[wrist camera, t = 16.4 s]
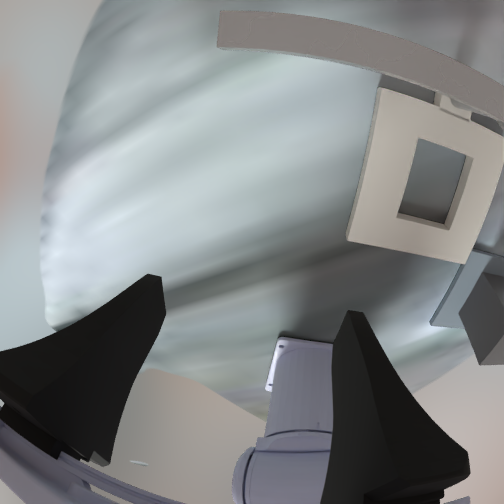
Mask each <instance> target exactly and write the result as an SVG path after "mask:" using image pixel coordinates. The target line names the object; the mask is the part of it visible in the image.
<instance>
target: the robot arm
mask: <svg viewBox="0 0 504 504" xmlns="http://www.w3.org/2000/svg"><path fill="white" fill-rule="evenodd" d="M165 316H166V309H165V301H164V294H163V286H162V278H161V277H160V276H156V275H151V274H147V275H145V276H144V277H142V278H141V279H139V280H138V281H137V282H135V283H134V284H132V285H131V286H130V287H128V288H127V289H126V290H124V291H123V292H121V293H120V294H119V295H117V296H116V297H114V298H113V299H112V300H110V301H109V302H107V303H106V304H104V305H103V306H101V307H100V308H98V309H97V310H95V311H94V312H92V313H91V314H89V315H88V316H86V317H84V318H83V319H81V320H79V321H77V322H76V323H74V324H72V325H70V326H68V327H66V328H64V329H62V330H60V331H58V332H56V333H54V334H52V335H49V336H47V337H45V338H42V339H40V340H37V341H35V342H32V343H29V344H26V345H23V346H20V347H17V348H12V349H8V350H4V351H0V399H1V400H2V401H3V402H4V405H3V407H1V406H0V479H1V480H2V481H3V482H4V483H5V484H6V485H7V486H8V487H9V488H10V489H11V490H12V491H13V492H14V493H15V494H16V495H17V496H18V497H19V498H20V499H21V500H23V501H24V502H25V503H26V504H119V503H117V502H115V501H113V500H110V499H108V498H106V497H104V496H102V495H99V494H97V493H95V492H93V491H92V490H91V488H90V485H89V483H90V484H92V485H94V486H96V487H98V488H100V489H102V490H104V491H106V492H108V493H111V494H112V495H115V496H117V497H120V498H122V499H124V500H127V501H129V502H132V503H134V504H185V503H181V502H178V501H174V500H171V499H168V498H165V497H161V496H159V495H156V494H153V493H150V492H147V491H144V490H142V489H139V488H137V487H134V486H132V485H129V484H126V483H124V482H122V481H119V480H117V479H115V478H112V477H110V476H108V475H106V474H104V473H102V472H100V471H98V470H95V469H94V468H92V467H90V466H88V465H86V464H84V463H82V462H80V459H82V460H85V461H86V462H89V461H92V462H94V463H96V464H98V465H100V466H107V465H109V464H110V462H111V456H112V451H113V446H114V442H115V438H116V434H117V430H118V426H119V423H120V419H121V416H122V413H123V410H124V407H125V404H126V401H127V398H128V396H129V393H130V390H131V387H132V385H133V383H134V380H135V378H136V376H137V374H138V372H139V370H140V369H141V367H142V365H143V363H144V361H145V359H146V357H147V355H148V353H149V352H150V350H151V348H152V346H153V344H154V342H155V340H156V338H157V336H158V334H159V332H160V329H161V327H162V324H163V321H164V318H165ZM265 389H266V390H267V391H272V392H271V398H270V405H269V411H268V417H267V423H266V429H265V435H264V437H258V438H257V442H256V447H250V448H248V449H247V450H246V451H245V452H244V453H243V454H242V455H241V456H240V458H239V459H238V461H237V463H236V466H235V469H234V474H233V479H232V495H233V499H234V502H235V504H440V499H442V498H443V497H444V489H446V488H448V487H451V486H453V485H455V484H457V483H459V482H461V481H462V480H465V479H466V478H467V477H468V476H469V475H470V465H469V458H468V452H467V451H466V450H465V449H464V448H462V447H461V446H460V445H459V444H458V443H456V442H455V441H454V440H453V439H452V438H450V437H449V436H448V435H447V434H446V433H445V432H444V431H443V430H442V429H441V428H440V427H439V426H438V425H437V424H436V423H435V422H434V421H433V420H432V419H431V417H430V416H429V415H428V414H427V413H426V412H425V411H424V409H423V408H422V407H421V406H420V405H419V403H418V402H417V401H416V400H415V398H414V397H413V396H412V394H411V393H410V391H409V390H408V389H407V387H406V386H405V385H404V383H403V382H402V380H401V379H400V377H399V376H398V374H397V372H396V371H395V369H394V368H393V366H392V364H391V363H390V361H389V359H388V357H387V356H386V354H385V352H384V350H383V349H382V347H381V345H380V343H379V341H378V339H377V338H376V336H375V334H374V332H373V330H372V328H371V326H370V324H369V323H368V321H367V319H366V317H365V315H364V314H363V312H357V311H350V310H348V311H347V313H346V316H345V318H344V320H343V323H342V325H341V327H340V330H339V332H338V334H337V336H336V339H335V341H334V343H333V344H329V343H321V342H314V341H307V340H300V339H294V338H287V337H279V338H278V339H277V343H276V347H275V351H274V355H273V359H272V363H271V367H270V370H269V374H268V378H267V382H266V385H265ZM87 482H88V483H87ZM444 504H470V497H469V496H467V497H464V498H461V499H458V500H454V501H451V502H448V503H444Z"/></svg>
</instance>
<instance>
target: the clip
mask: <svg viewBox="0 0 504 504" xmlns="http://www.w3.org/2000/svg"><path fill="white" fill-rule="evenodd" d="M217 48H220V49H222V50H237V51H255V52H267V53H278V54H286V55H294V56H301V57H308V58H314V59H320V60H326V61H331V62H336V63H341V64H345V65H350V66H354V67H358V68H362V69H366V70H370V71H374V72H378V73H381V74H385V75H388V76H391V77H395V78H398V79H401V80H404V81H407V82H410V83H413V84H416V85H419V86H421V87H424V88H427V89H429V90H432V91H435V92H437V93H440V94H442V95H444V96H447V97H449V98H452V99H454V100H456V101H458V102H461V103H463V104H465V105H467V106H469V107H471V108H473V109H475V110H478V111H480V112H482V113H483V114H485V115H487V116H489V117H491V118H493V119H495V120H497V122H498V124H499V126H500V127H501V128H502V129H503V130H504V86H502V85H501V84H499V83H497V82H496V81H494V80H492V79H491V78H489V77H487V76H485V75H484V74H482V73H480V72H478V71H476V70H474V69H472V68H470V67H468V66H466V65H464V64H462V63H460V62H458V61H456V60H454V59H452V58H450V57H447V56H445V55H443V54H441V53H438V52H436V51H434V50H431V49H429V48H426V47H424V46H421V45H418V44H416V43H413V42H410V41H407V40H404V39H402V38H399V37H395V36H392V35H389V34H386V33H382V32H379V31H375V30H372V29H368V28H364V27H360V26H356V25H352V24H348V23H343V22H338V21H333V20H328V19H322V18H316V17H309V16H302V15H294V14H285V13H274V12H259V11H220V20H219V29H218V39H217Z"/></svg>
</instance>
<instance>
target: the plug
mask: <svg viewBox="0 0 504 504" xmlns="http://www.w3.org/2000/svg"><path fill="white" fill-rule="evenodd" d="M458 314H459V316H460V319H461V321H462V323H463V325H464V328H465V330H466V332H467V335H468V337H469V340H470V342H471V345H472V347H473V350H474V352H475V355H476V358H477V360H478V363H479V365H502V364H504V277H503V276H498V275H494V274H489V273H485V272H482V273H481V275H480V277H479V278H478V280H477V282H476V284H475V286H474V287H473V289H472V291H471V293H470V294H469V296H468V298H467V300H466V301H465V303H464V305H463V306H462V308H461V309H460V311H459V313H458Z"/></svg>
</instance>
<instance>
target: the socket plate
mask: <svg viewBox="0 0 504 504" xmlns="http://www.w3.org/2000/svg"><path fill="white" fill-rule="evenodd" d="M472 112H474V113H478V114H481V115H484V116H487V115H485V114H483V113H482V112H480V111H478V110H475V109H473V108H471V107H469V106H467V105H465V104H463V103H461V102H458V101H456V100H454V99H452V98H449V97H447V96H444V95H442V94H440V93H437V92H435V98H434V104H430V103H428V102H425V101H422V100H420V99H417V98H414V97H411V96H408V95H405V94H402V93H399V92H395V91H392V90H389V89H385V88H381V87H378V89H377V95H376V101H375V107H374V113H373V118H372V123H371V129H370V134H369V139H368V143H367V148H366V153H365V158H364V162H363V166H362V171H361V175H360V179H359V184H358V188H357V192H356V196H355V200H354V204H353V207H352V211H351V215H350V219H349V222H348V226H347V230H346V233H345V234H346V238H347V241H351V242H357V243H362V244H367V245H372V246H378V247H383V248H388V249H393V250H398V251H403V252H408V253H413V254H418V255H423V256H427V257H432V258H437V259H442V260H446V261H451V262H456V263H460V264H465V263H466V261H467V259H468V257H469V255H470V253H471V250H472V248H473V246H474V244H475V242H476V239H477V237H478V235H479V232H480V230H481V228H482V225H483V223H484V220H485V218H486V215H487V212H488V210H489V207H490V204H491V202H492V199H493V196H494V193H495V190H496V187H497V184H498V181H499V177H500V174H501V171H502V167H503V164H504V137H502V136H501V135H499V134H497V133H495V132H493V131H491V130H489V129H487V128H485V127H483V126H481V125H479V124H477V123H475V122H473V121H471V120H470V119H471V114H472ZM487 117H489V116H487ZM418 138H421V139H424V140H427V141H430V142H433V143H436V144H438V145H441V146H444V147H447V148H449V149H452V150H455V151H457V152H460V153H462V154H465V155H466V159H465V162H464V166H463V169H462V173H461V176H460V180H459V183H458V186H457V189H456V192H455V195H454V198H453V201H452V204H451V207H450V210H449V212H448V215H447V218H446V220H445V223H444V224H441V223H437V222H433V221H429V220H426V219H422V218H418V217H414V216H410V215H405V214H401V213H398V210H399V207H400V204H401V201H402V197H403V194H404V191H405V187H406V184H407V180H408V177H409V173H410V169H411V166H412V162H413V158H414V154H415V150H416V146H417V141H418Z"/></svg>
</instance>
